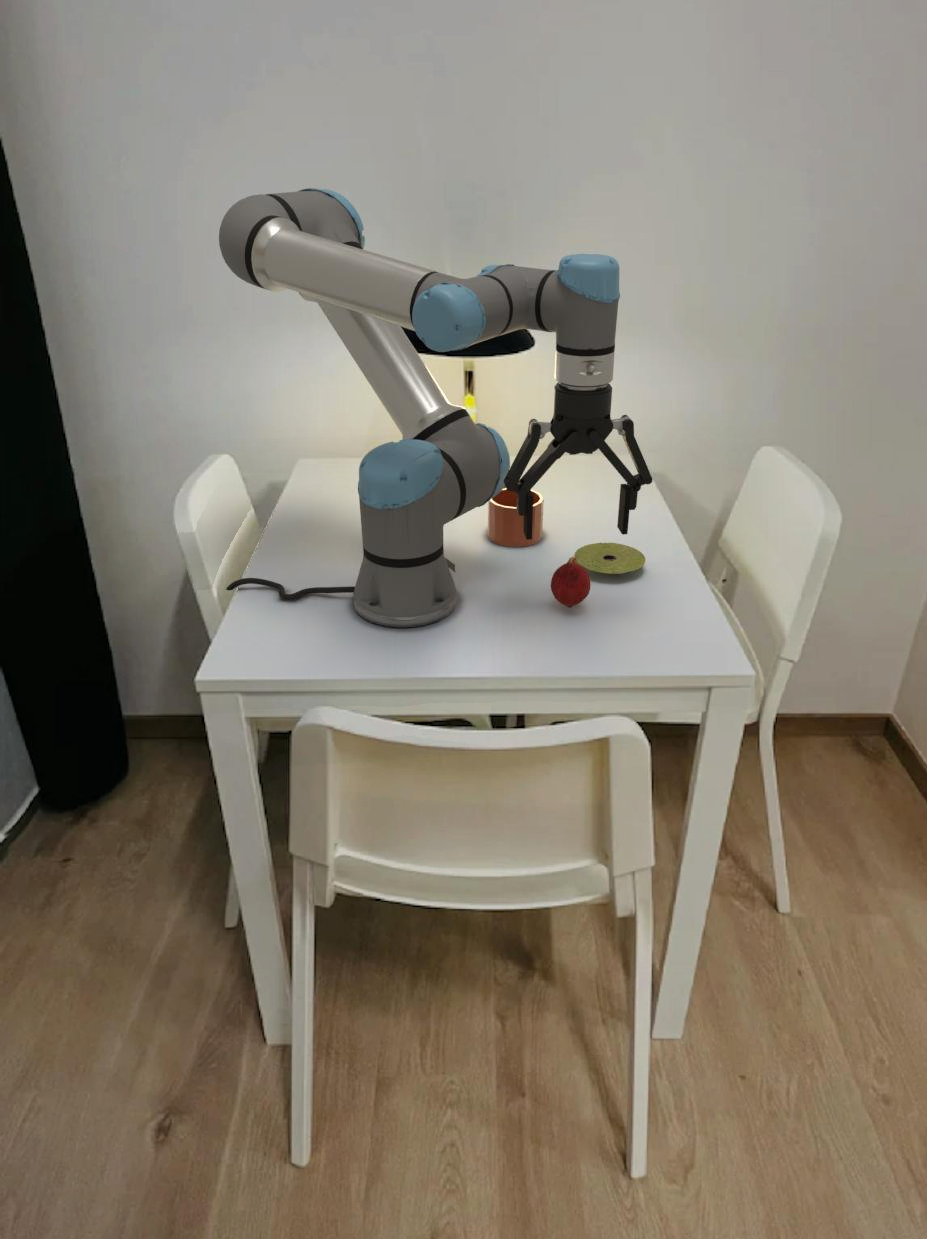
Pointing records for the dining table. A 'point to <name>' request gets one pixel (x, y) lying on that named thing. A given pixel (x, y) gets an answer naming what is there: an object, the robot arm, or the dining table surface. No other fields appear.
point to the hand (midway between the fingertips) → (575, 533)
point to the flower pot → (513, 520)
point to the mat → (609, 558)
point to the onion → (570, 583)
